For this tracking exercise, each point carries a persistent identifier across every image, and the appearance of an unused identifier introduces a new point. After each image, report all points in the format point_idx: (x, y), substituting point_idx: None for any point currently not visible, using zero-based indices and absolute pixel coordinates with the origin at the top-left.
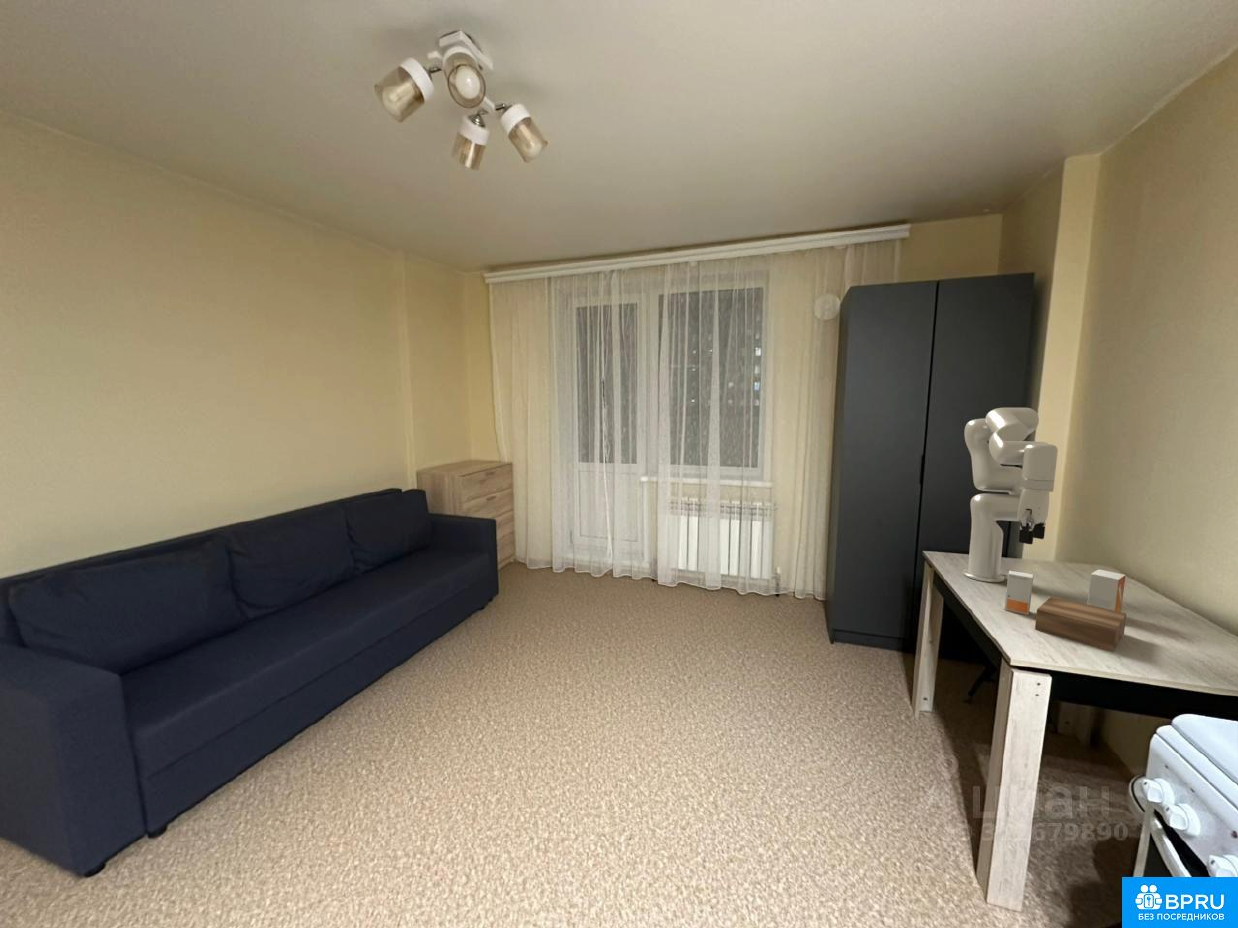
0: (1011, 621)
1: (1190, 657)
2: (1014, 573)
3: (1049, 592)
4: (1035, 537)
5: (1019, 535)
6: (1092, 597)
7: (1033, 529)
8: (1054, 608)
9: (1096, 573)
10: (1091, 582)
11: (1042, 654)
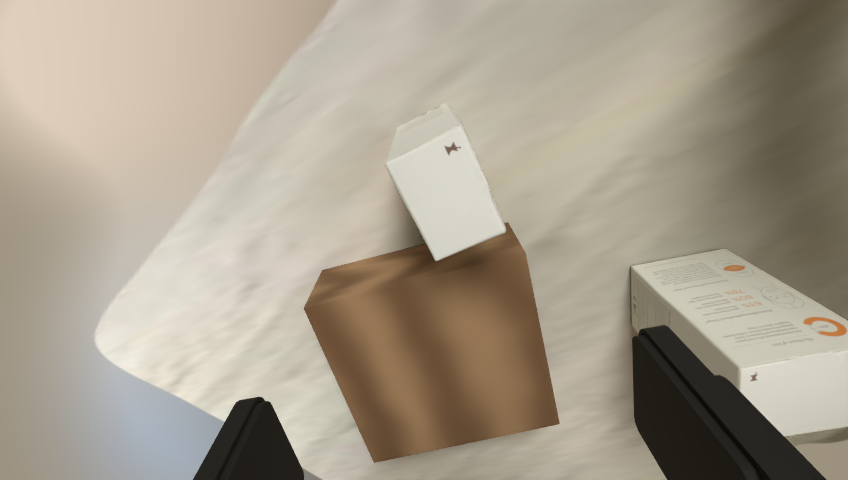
0: (309, 205)
1: (515, 471)
2: (419, 178)
3: (821, 76)
4: (635, 374)
5: (202, 469)
6: (666, 313)
7: (700, 435)
8: (378, 326)
9: (773, 374)
10: (708, 345)
11: (174, 361)
